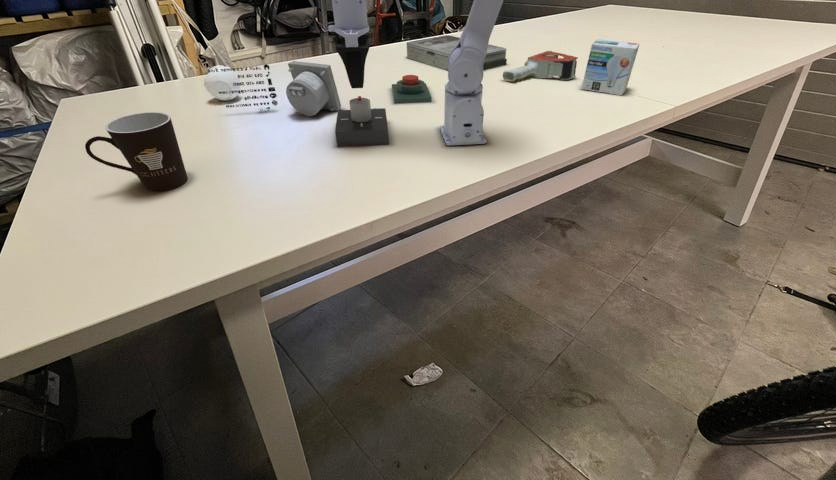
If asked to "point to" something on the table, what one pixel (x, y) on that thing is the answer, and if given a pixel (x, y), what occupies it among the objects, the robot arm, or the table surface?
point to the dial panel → (361, 129)
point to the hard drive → (441, 47)
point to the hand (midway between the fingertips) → (357, 81)
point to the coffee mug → (146, 149)
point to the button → (410, 80)
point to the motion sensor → (222, 83)
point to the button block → (411, 93)
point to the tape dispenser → (545, 67)
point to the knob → (360, 109)
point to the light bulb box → (609, 66)
